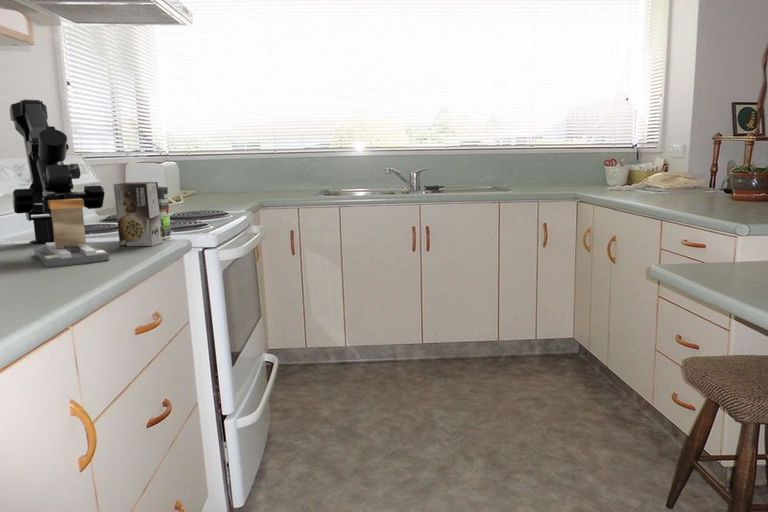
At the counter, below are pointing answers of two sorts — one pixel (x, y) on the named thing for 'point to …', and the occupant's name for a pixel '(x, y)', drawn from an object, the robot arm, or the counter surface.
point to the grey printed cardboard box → (138, 213)
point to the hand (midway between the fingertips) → (67, 226)
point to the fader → (68, 223)
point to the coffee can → (164, 212)
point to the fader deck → (70, 255)
